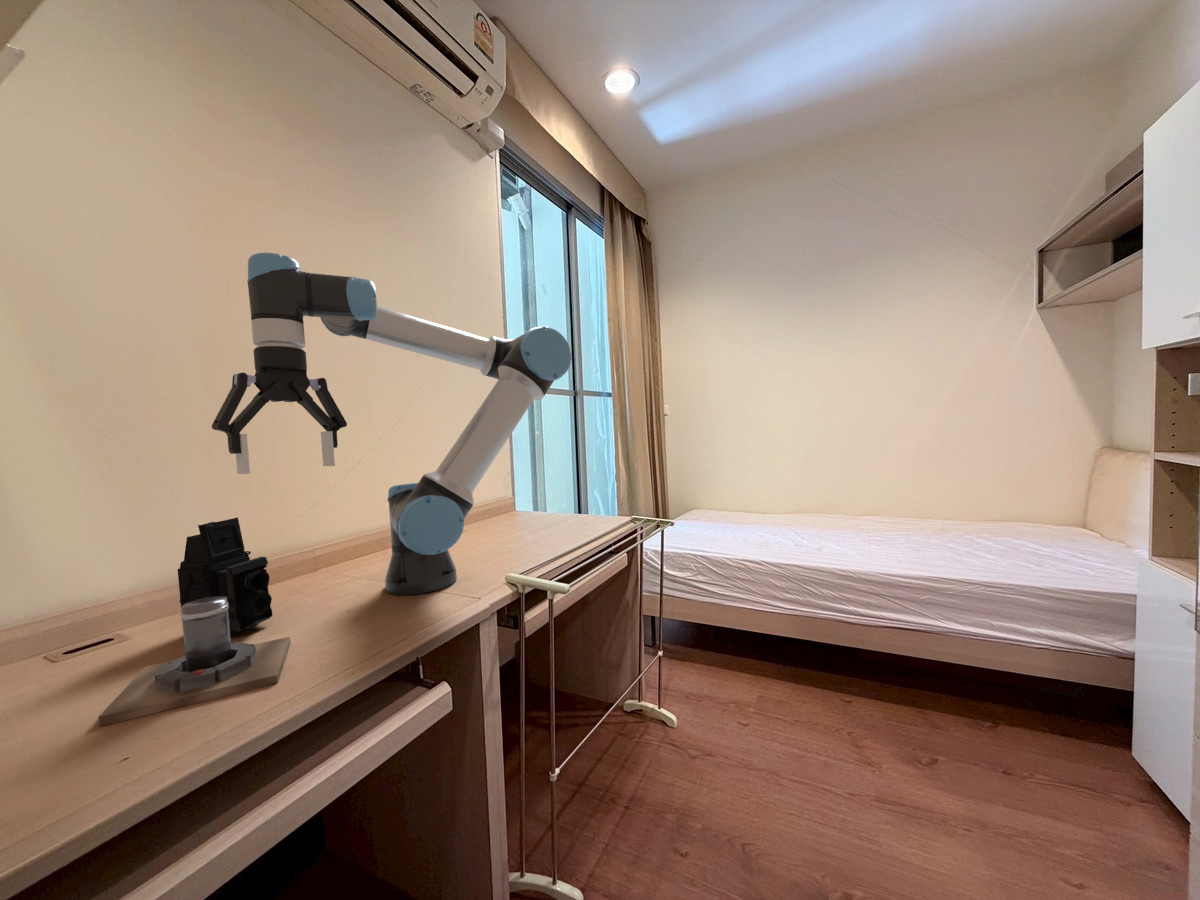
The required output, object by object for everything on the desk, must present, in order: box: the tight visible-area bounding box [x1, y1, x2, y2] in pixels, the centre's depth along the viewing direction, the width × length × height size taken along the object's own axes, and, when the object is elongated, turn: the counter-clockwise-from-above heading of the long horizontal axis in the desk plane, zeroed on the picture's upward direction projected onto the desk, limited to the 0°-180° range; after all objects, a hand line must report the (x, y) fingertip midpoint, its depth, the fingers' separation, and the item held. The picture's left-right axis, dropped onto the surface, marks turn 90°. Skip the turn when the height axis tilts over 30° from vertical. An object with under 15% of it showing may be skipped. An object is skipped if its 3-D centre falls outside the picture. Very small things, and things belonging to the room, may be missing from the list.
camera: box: [177, 516, 273, 637], centre depth 83 cm, size 10×14×20 cm
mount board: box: [97, 636, 291, 727], centre depth 67 cm, size 18×14×3 cm
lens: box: [180, 596, 232, 673], centre depth 66 cm, size 6×5×10 cm
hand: (289, 469), depth 81 cm, fingers open, 13 cm apart
